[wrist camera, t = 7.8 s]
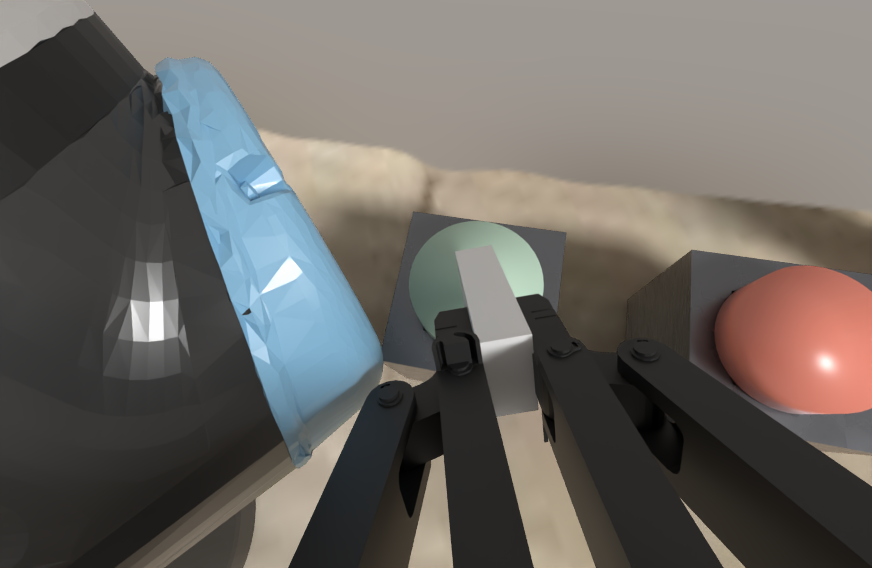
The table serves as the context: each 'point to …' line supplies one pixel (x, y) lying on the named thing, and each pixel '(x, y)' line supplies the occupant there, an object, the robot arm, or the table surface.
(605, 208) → the table surface
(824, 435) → the red button post
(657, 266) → the table surface
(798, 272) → the red button
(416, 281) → the green button
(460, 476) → the robot arm
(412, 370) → the green button post
